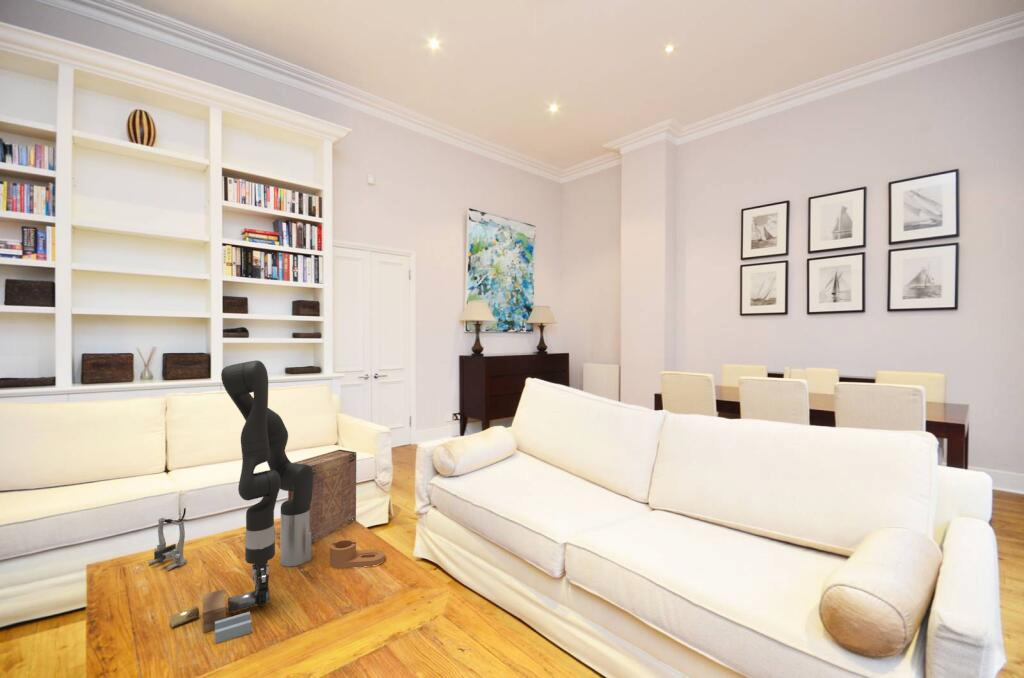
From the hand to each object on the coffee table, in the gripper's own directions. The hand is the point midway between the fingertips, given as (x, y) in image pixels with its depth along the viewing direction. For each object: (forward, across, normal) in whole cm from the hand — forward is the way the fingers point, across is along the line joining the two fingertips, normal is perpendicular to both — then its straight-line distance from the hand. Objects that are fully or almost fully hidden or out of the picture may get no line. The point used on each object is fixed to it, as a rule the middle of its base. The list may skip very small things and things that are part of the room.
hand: (260, 600), depth 132 cm
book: (+2, -41, +27) cm, 49 cm away
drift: (-1, -5, -18) cm, 19 cm away
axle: (+1, 0, -3) cm, 3 cm away
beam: (+2, 0, -11) cm, 11 cm away
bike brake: (+2, -44, -22) cm, 49 cm away
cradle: (+2, +9, -7) cm, 12 cm away
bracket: (+3, -10, +31) cm, 32 cm away
